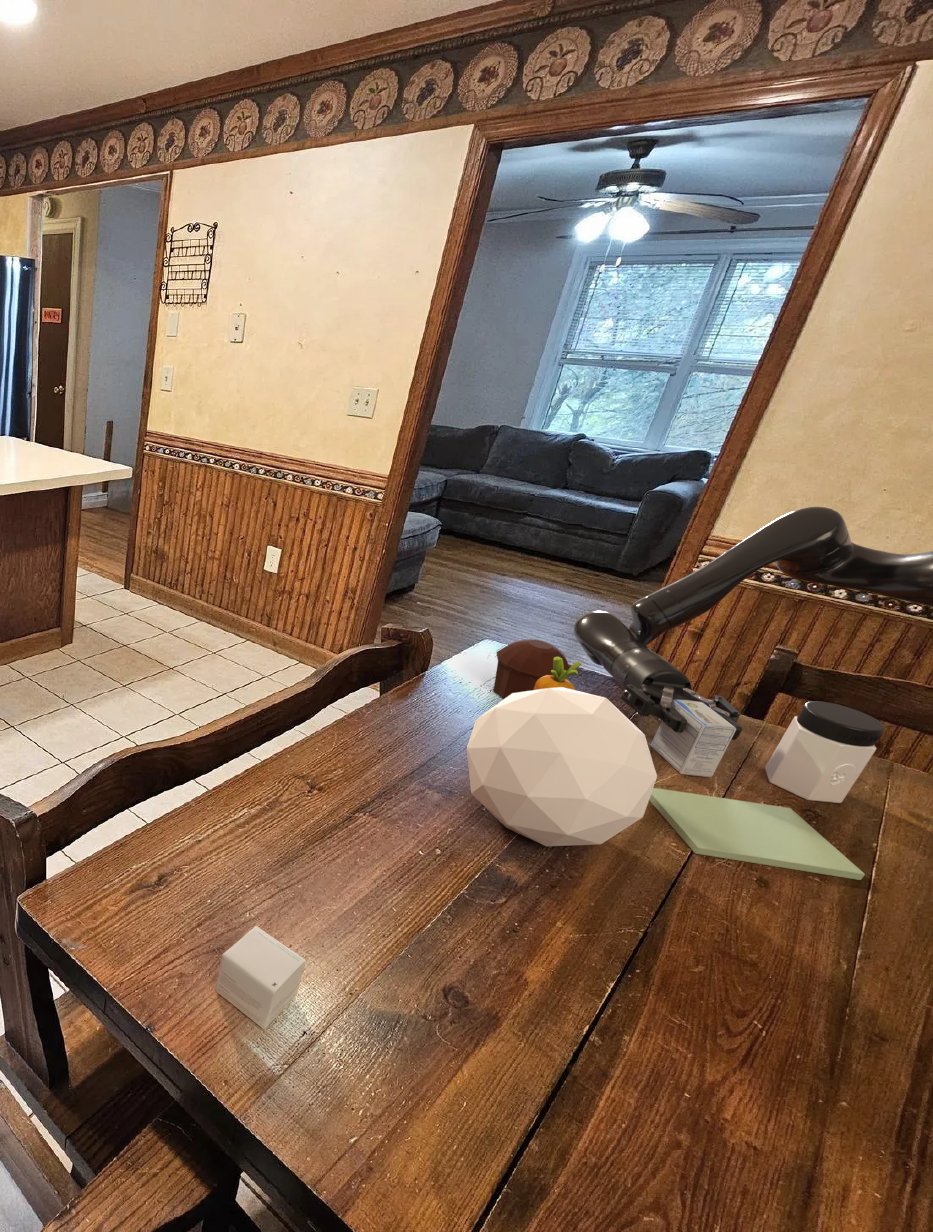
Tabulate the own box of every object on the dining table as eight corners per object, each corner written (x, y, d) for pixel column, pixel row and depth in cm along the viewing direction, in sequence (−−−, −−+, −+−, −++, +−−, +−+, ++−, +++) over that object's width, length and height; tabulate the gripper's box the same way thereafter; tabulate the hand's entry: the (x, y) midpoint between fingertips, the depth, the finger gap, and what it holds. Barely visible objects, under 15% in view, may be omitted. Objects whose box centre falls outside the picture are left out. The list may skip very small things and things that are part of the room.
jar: (791, 800, 101) (835, 727, 96) (747, 766, 108) (786, 697, 103) (859, 806, 101) (907, 734, 95) (810, 772, 108) (852, 703, 103)
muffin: (501, 674, 133) (518, 625, 128) (567, 699, 125) (588, 647, 121) (473, 692, 126) (491, 640, 121) (542, 719, 118) (564, 665, 114)
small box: (298, 996, 68) (308, 959, 65) (264, 1032, 64) (274, 995, 62) (247, 958, 71) (255, 922, 69) (212, 991, 68) (220, 954, 65)
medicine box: (712, 779, 105) (739, 728, 101) (678, 774, 105) (704, 724, 102) (679, 749, 112) (703, 701, 108) (648, 745, 112) (671, 697, 109)
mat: (786, 813, 98) (790, 807, 98) (861, 880, 87) (865, 874, 86) (641, 791, 101) (644, 786, 101) (694, 853, 89) (698, 847, 89)
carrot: (550, 741, 112) (585, 656, 105) (551, 756, 108) (587, 668, 102) (514, 731, 114) (547, 647, 108) (513, 745, 110) (547, 659, 104)
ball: (496, 882, 93) (451, 791, 83) (483, 759, 106) (443, 669, 96) (685, 878, 81) (658, 772, 72) (644, 741, 95) (617, 636, 85)
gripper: (687, 704, 119) (753, 760, 104) (592, 692, 121) (643, 745, 106) (707, 664, 116) (778, 716, 101) (609, 652, 118) (664, 701, 103)
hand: (708, 730), depth 104 cm, fingers open, 6 cm apart
